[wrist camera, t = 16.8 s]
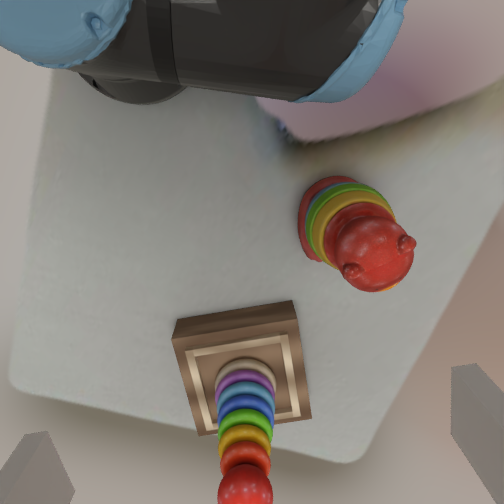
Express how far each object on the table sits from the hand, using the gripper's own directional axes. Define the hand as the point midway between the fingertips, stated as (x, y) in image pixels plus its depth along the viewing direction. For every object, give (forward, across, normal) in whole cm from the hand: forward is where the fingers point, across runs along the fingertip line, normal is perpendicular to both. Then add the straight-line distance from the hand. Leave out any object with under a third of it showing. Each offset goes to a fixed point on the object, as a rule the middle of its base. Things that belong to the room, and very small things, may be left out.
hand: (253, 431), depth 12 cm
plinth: (+37, -4, -23) cm, 43 cm away
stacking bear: (+37, +11, -4) cm, 39 cm away
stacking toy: (+32, -4, -23) cm, 39 cm away
